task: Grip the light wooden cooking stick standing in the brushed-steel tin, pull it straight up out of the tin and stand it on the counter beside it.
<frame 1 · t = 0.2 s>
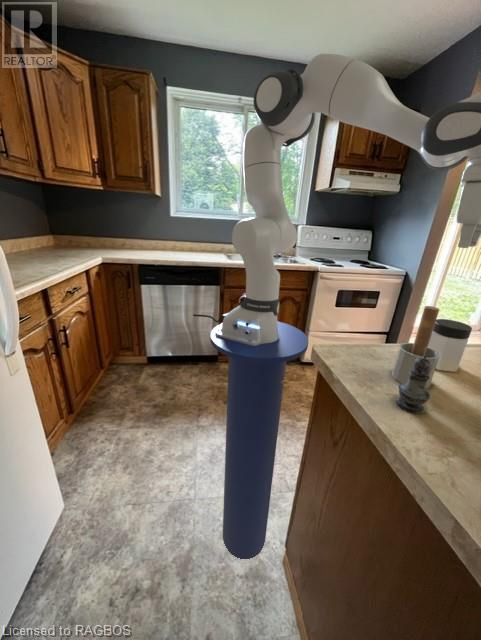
hand: (467, 247, 59), 32 cm above the countertop, tool pointing down, fingers open, 8 cm apart
jar: (438, 364, 75), on the countertop
stick: (410, 376, 67), point 1 cm above the countertop, touching tin
grey stone figurine: (409, 405, 57), on the countertop
tin: (410, 379, 67), on the countertop
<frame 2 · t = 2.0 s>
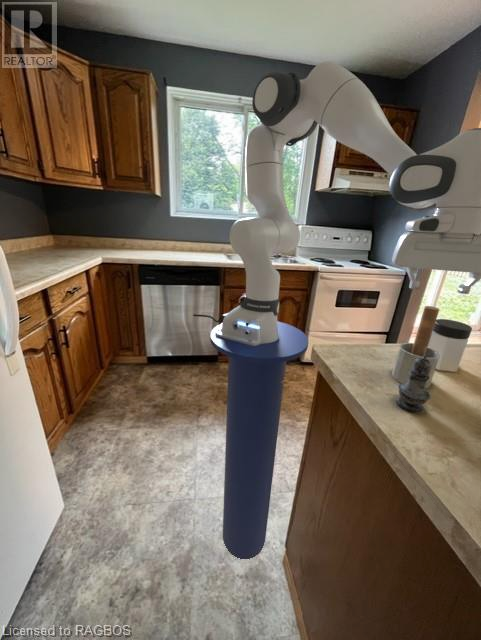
hand: (437, 290, 59), 23 cm above the countertop, tool pointing down, fingers open, 8 cm apart
nothing on the countertop moved.
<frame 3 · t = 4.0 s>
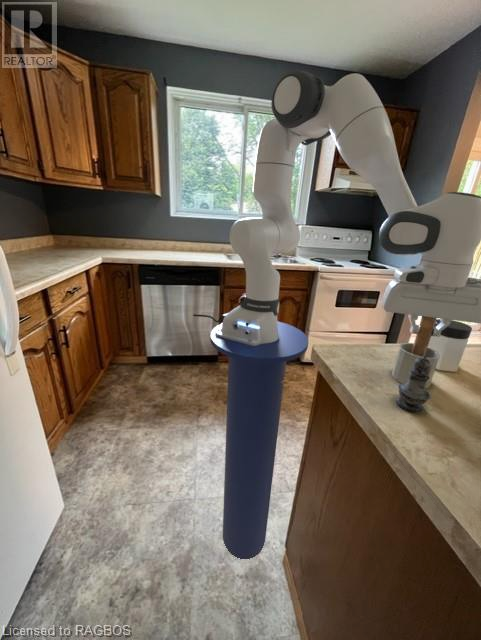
hand: (423, 334, 63), 12 cm above the countertop, tool pointing down, fingers closed on stick, 3 cm apart
stick: (410, 376, 67), point 1 cm above the countertop, touching gripper, tin
everything else where it was.
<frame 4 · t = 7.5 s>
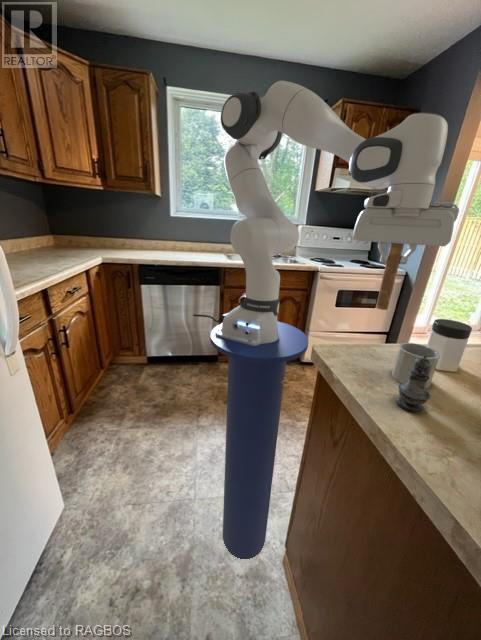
hand: (392, 263, 65), 27 cm above the countertop, tool pointing down, fingers closed on stick, 3 cm apart
stick: (381, 308, 69), point 16 cm above the countertop, touching gripper
everything else where it was.
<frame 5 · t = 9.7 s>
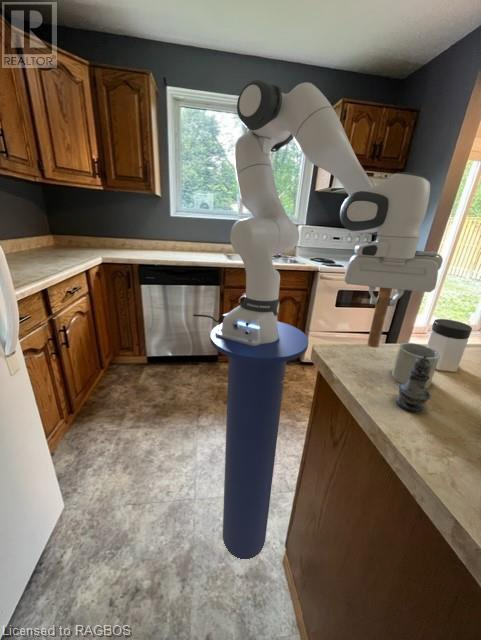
hand: (381, 304, 69), 16 cm above the countertop, tool pointing down, fingers closed on stick, 3 cm apart
stick: (372, 345, 73), point 5 cm above the countertop, touching gripper
everything else where it was.
when the fingers open (11 cm above the countertop, at t = 11.2 s): stick stays where it is, on the countertop.
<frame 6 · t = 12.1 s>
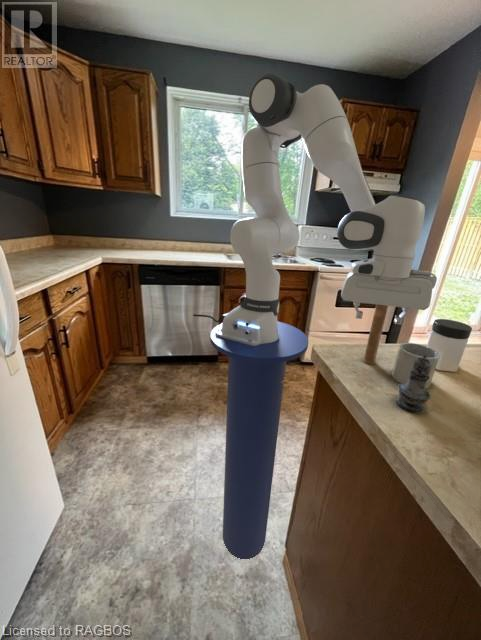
hand: (377, 320, 71), 12 cm above the countertop, tool pointing down, fingers open, 8 cm apart
stick: (368, 361, 75), on the countertop
everything else where it was.
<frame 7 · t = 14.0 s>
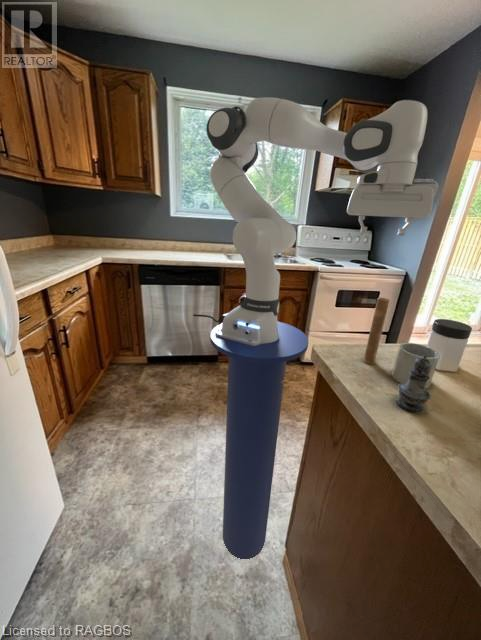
hand: (381, 234, 75), 33 cm above the countertop, tool pointing down, fingers open, 8 cm apart
nothing on the countertop moved.
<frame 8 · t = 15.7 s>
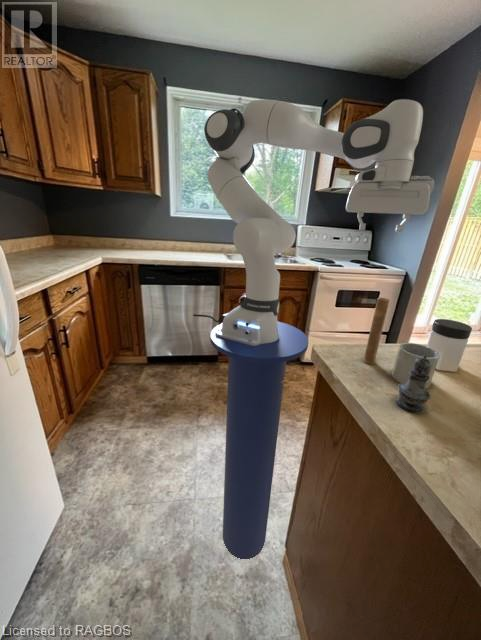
hand: (379, 230, 76), 34 cm above the countertop, tool pointing down, fingers open, 8 cm apart
nothing on the countertop moved.
at the end: stick inside the target area (0.1 cm from its centre), on the countertop; stick touching countertop; the gripper is holding nothing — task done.
